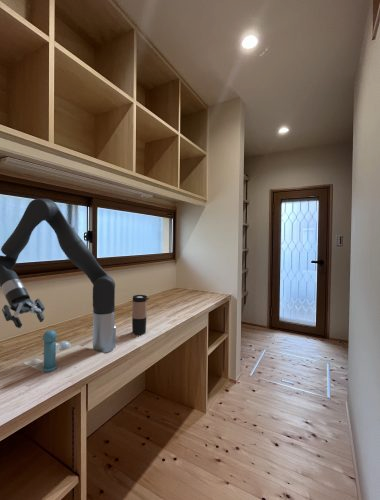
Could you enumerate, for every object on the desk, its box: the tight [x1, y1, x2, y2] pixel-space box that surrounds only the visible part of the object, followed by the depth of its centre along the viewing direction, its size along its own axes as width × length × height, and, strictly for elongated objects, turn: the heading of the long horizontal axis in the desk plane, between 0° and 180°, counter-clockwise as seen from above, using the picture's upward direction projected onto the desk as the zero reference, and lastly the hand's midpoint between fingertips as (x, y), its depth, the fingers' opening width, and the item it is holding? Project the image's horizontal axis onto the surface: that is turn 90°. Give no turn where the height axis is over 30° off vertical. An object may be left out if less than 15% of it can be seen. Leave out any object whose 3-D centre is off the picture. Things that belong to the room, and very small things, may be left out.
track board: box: [23, 358, 60, 375], centre depth 97 cm, size 7×16×1 cm, turn 62°
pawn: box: [41, 329, 58, 373], centre depth 94 cm, size 5×5×14 cm
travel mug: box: [131, 294, 148, 336], centre depth 138 cm, size 8×8×20 cm
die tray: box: [56, 340, 72, 353], centre depth 112 cm, size 10×8×6 cm
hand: (31, 323), depth 101 cm, fingers open, 8 cm apart
